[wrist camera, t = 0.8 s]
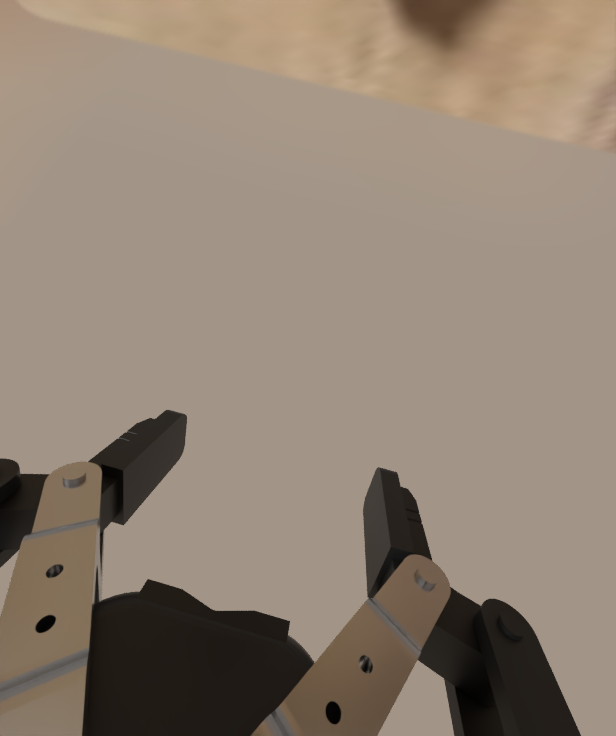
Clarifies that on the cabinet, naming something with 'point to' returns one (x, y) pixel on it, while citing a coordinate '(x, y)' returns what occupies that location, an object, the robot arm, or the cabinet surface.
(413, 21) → the cabinet surface
